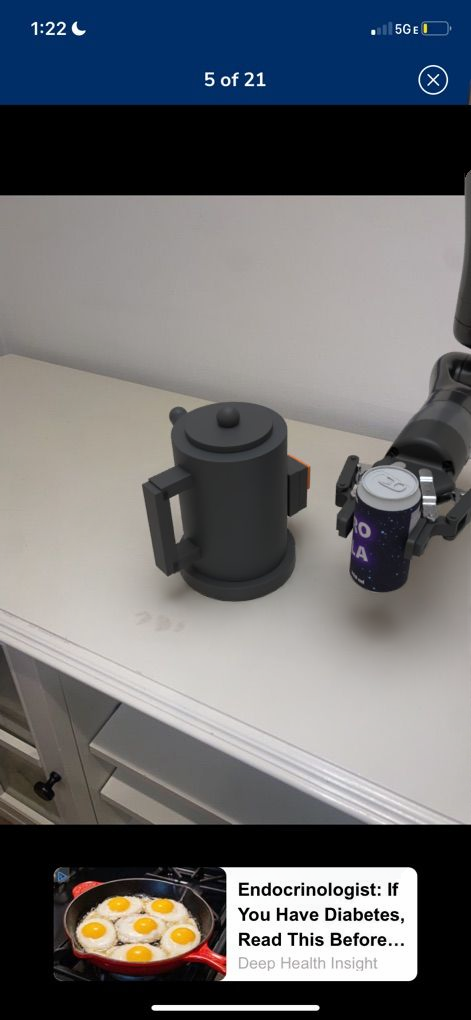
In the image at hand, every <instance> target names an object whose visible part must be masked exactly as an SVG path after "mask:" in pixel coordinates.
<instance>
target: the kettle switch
mask: <svg viewBox="0 0 471 1020" xmlns="http://www.w3.org/2000/svg"><path fill="white" fill-rule="evenodd" d="M288 455H289V456H290V457H292V458H294V459H296V460H297V461H299V462H301V463H302V464H304V465H306V466H308V482H307V490H309V489H310V488H311V465H309V464H307V463H306V462H304V461H302V460H300V459H299V458H297V457H295V456H293V455H292V454H288Z"/></svg>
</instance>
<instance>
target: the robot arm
mask: <svg viewBox="0 0 471 1020" xmlns="http://www.w3.org/2000/svg"><path fill="white" fill-rule="evenodd" d="M467 105H471V80H470V81H469V87H468V93H467V99H466V106H467ZM463 245H464V247H463V248H464V249H463V257H462V260H463V261H462V269H461V276H460V280H459V287H458V292H457V299H456V304H455V311H454V317H453V324H452V334H453V337H454V339H455V340H456V341H457V343H459V344H460V345H461V346H463V347H465V348H467V349H470V350H471V170H470V171H469V172H468V173H467V175H466V177H465V176H464V244H463ZM470 456H471V353H468V352H465V351H449V352H446V353H444V354H443V355H441V356H440V357H438V358H437V360H436V361H435V362H434V364H433V366H432V368H431V372H430V376H429V382H428V395H427V398H426V400H425V401H424V403H423V404H422V406H421V407H420V408H419V410H418V411H417V412H416V413H414V415H412V417H411V418H410V419H409V420H408V421H407V423H406V424H405V426H404V427H403V429H402V430H401V431H400V433H399V434H398V435H397V437H396V438H395V439H394V441H393V442H392V444H391V445H390V447H389V448H388V450H387V451H386V453H385V455H384V456H383V458H381V459H380V460H377V461H375V462H374V463H373V464H369V463H364V462H363V463H362V462H360V457H359V456H358V455H356V454H352V455H348V456H347V458H346V460H345V462H344V465H343V467H342V469H341V471H340V474H339V476H338V478H337V481H336V483H335V495H334V497H335V498H334V505H335V506H336V507H338V508H340V510H338V512H337V513H336V523H335V530H336V531H338V534H337V535H338V537H340V538H342V539H343V538H344V539H347V538H348V537H349V535H350V534H351V532H353V522H354V510H355V498H356V489H357V487H356V488H355V486H358V485H359V483H360V482H361V480H362V476H363V475H364V473H365V472H367V471H368V470H370V469H372V468H374V467H378V466H396V467H400V468H403V469H406V470H408V471H410V472H411V473H412V474H414V475H415V476H416V478H417V480H418V483H419V489H420V492H421V503H420V509H419V515H418V520H417V524H416V526H415V527H414V529H413V530H412V532H411V534H410V536H409V537H408V539H407V542H406V546H405V552H404V558H406V559H409V560H411V561H412V560H413V559H414V557H419V558H420V557H421V556H423V555H424V553H425V551H426V549H427V547H428V545H429V544H430V541H431V540H432V539H434V538H435V537H442V539H443V540H444V541H447V542H453V541H455V540H456V539H457V537H458V536H459V535H460V534H461V533H462V531H463V530H465V528H466V527H467V526H468V524H469V523H470V522H471V487H470V488H469V489H468V490H464V489H461V488H459V487H457V484H456V482H457V480H458V478H459V476H460V474H461V473H462V471H463V469H464V467H465V466H466V465H467V463H468V461H469V460H470ZM451 501H453V507H452V508H451V509H450V510H449V511H448V512H447V514H446V515H439V512H438V506H440V505H443V504H446V503H449V502H451Z"/></svg>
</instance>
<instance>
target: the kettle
mask: <svg viewBox="0 0 471 1020" xmlns="http://www.w3.org/2000/svg"><path fill="white" fill-rule="evenodd" d="M168 419H169V422H170V423H171V425H172V427H171V431H170V441H171V448H172V456H173V457H172V458H173V465H174V466H172V467H170V468H168V469H165V470H164V471H161V472H159V473H156V474H155V475H152V476H150V477H148V479H147V480H148V481H146V482H143V483H142V484H141V487H142V489H141V490H142V494H143V500H144V506H145V511H146V517H147V524H148V528H149V534H150V535H149V536H150V540H151V545H152V552H153V558H154V563H155V566H156V567H157V568H158V569H159V570H160V571H161V572H162V573H163V574H164V575H165V576H166V577H170V576H172V575H175V574H177V573H179V572H180V574H181V577H182V578H183V579H184V581H185V582H186V584H187V585H188V586H189V587H190V588H192V589H193V590H194V591H196V592H197V593H199V594H201V595H203V596H206V597H208V598H211V599H214V600H220V601H226V602H242V601H243V602H244V601H249V600H250V601H251V600H255V599H258V598H262V597H264V596H267V595H269V594H271V593H273V592H274V591H277V590H278V589H279V588H280V587H282V586H283V585H284V584H285V583H286V582H287V581H288V580H289V578H291V576H292V574H293V572H294V569H295V566H296V557H297V556H296V555H297V554H296V553H297V550H296V548H297V547H296V541H295V540H296V539H295V537H294V535H293V533H292V532H291V530H290V529H289V528H288V518H291V517H293V516H295V515H297V514H298V513H300V512H301V511H302V510H304V509H307V507H308V489H307V482H308V466H306V465H304V464H302V463H301V462H299V461H297V460H296V459H294V458H292V457H290V456H289V455H290V454H288V436H289V435H288V433H289V432H288V425H287V422H286V420H285V418H284V417H283V416H282V415H281V414H279V412H277V411H275V410H274V409H272V408H269V407H267V406H264V405H262V404H257V403H252V402H247V401H223V402H221V401H220V402H216V403H209V404H206V405H202V406H199V407H197V408H194V409H192V410H190V411H188V410H186V408H184V407H183V406H175V407H173V408H171V409H170V411H169V413H168ZM176 496H178V502H179V511H180V518H181V524H182V533H183V534H182V536H181V538H180V540H179V542H177V541H176V535H175V527H174V520H173V514H172V507H171V500H170V499H172V498H173V497H176Z"/></svg>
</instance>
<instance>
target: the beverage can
mask: <svg viewBox="0 0 471 1020" xmlns="http://www.w3.org/2000/svg"><path fill="white" fill-rule="evenodd" d="M356 486H357V487H356V488H357V489H356V488H355V489H356V498H355V510H354V522H353V529H352V536H351V544H350V545H351V547H350V559H349V569H348V571H349V576H350V578H351V579H352V581H353V582H354V583H356V584H357V585H358V586H359V587H360V588H362V589H364V590H365V591H368V592H370V593H374V594H387V593H391V592H395V591H397V590H399V589H401V588H402V587H403V586H405V584H406V583H407V581H408V578H409V573H410V568H411V561H412V560H409V559H406V558H404V552H405V546H406V542H407V539H408V537H409V536H410V534H411V532H412V530H413V529H414V527H415V526H416V524H417V522H418V521H417V520H418V515H419V509H420V503H421V492H420V489H419V483H418V480H417V478H416V476H415V475H414V474H412V473H411V472H410V471H408V470H406V469H403V468H400V467H396V466H378V467H374V468H372V469H370V470H368V471H367V472H365V473H364V475H363V476H362V480H361V481H360V483H359V485H356Z"/></svg>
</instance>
